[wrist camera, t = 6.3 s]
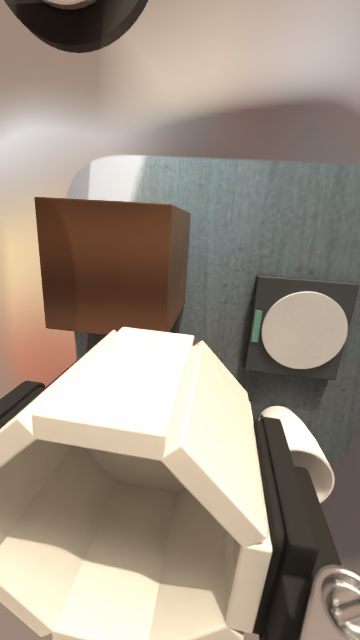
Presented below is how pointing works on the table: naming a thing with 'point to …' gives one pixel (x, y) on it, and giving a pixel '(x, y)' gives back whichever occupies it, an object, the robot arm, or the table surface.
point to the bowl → (135, 497)
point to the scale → (299, 326)
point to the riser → (111, 264)
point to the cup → (304, 450)
